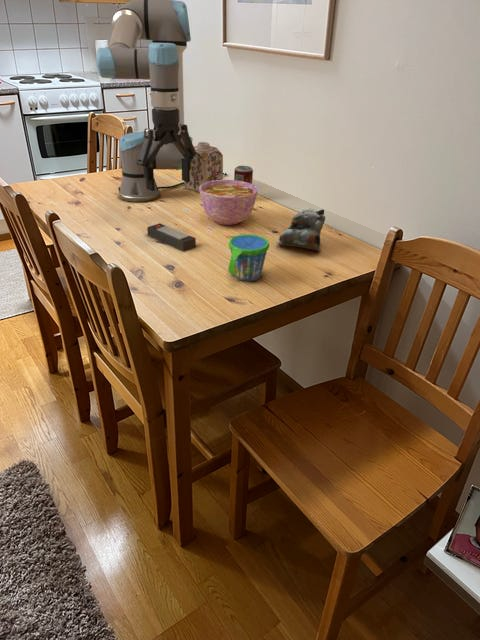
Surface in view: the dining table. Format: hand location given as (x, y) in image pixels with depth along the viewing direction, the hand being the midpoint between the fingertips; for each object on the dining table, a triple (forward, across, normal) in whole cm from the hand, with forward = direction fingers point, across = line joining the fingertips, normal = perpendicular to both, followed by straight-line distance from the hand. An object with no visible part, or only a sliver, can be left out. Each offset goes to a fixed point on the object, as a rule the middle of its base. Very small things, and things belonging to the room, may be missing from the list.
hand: (168, 185), depth 144 cm
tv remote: (+18, 0, 0) cm, 18 cm away
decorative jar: (+17, +46, +33) cm, 59 cm away
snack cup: (+18, -1, -33) cm, 37 cm away
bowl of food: (+18, +26, 0) cm, 32 cm away
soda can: (+18, +48, +13) cm, 53 cm away
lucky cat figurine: (+18, +26, -31) cm, 44 cm away
